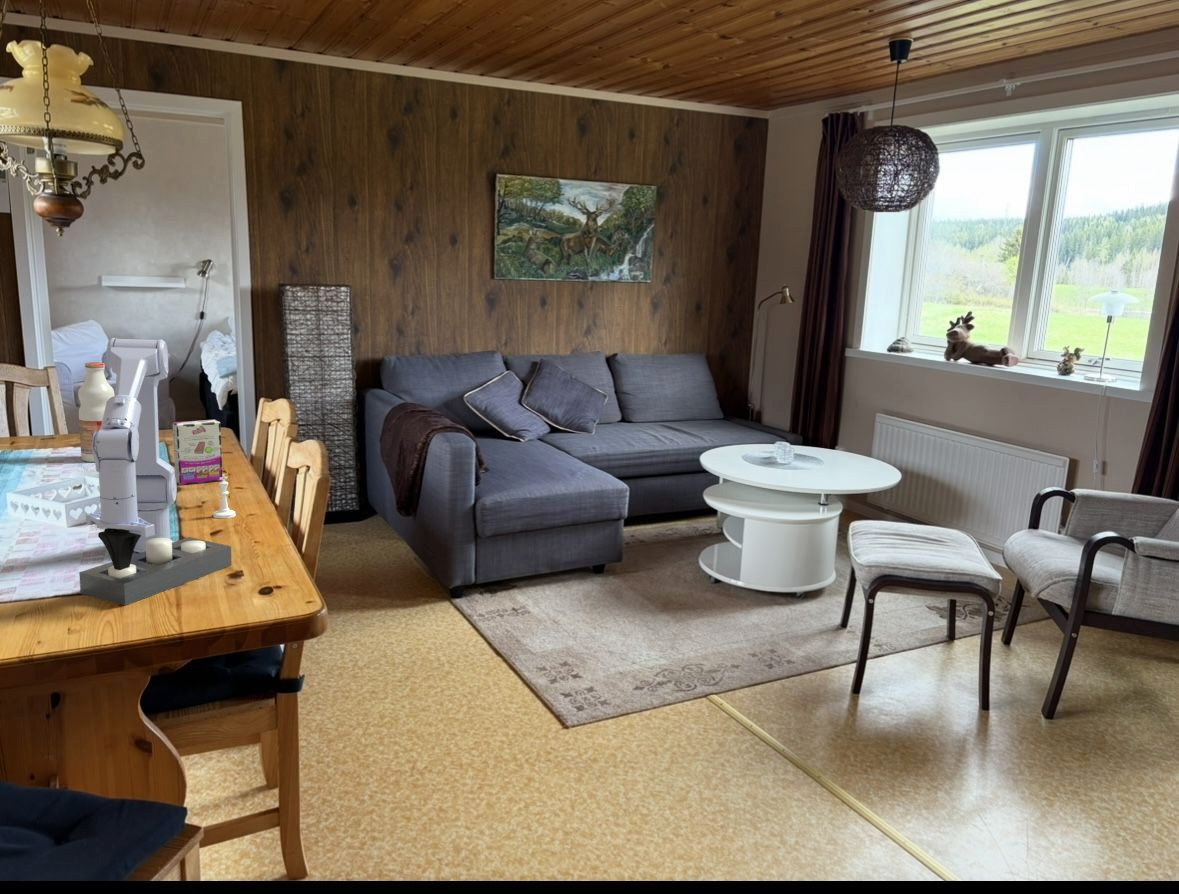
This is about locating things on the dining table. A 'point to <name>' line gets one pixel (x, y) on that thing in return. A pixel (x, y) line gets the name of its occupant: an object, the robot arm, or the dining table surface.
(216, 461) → the candy bar box
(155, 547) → the knob middle
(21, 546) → the dining table surface
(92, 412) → the fruit juice
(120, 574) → the knob
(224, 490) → the chess piece
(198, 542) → the knob
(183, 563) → the knob mount
